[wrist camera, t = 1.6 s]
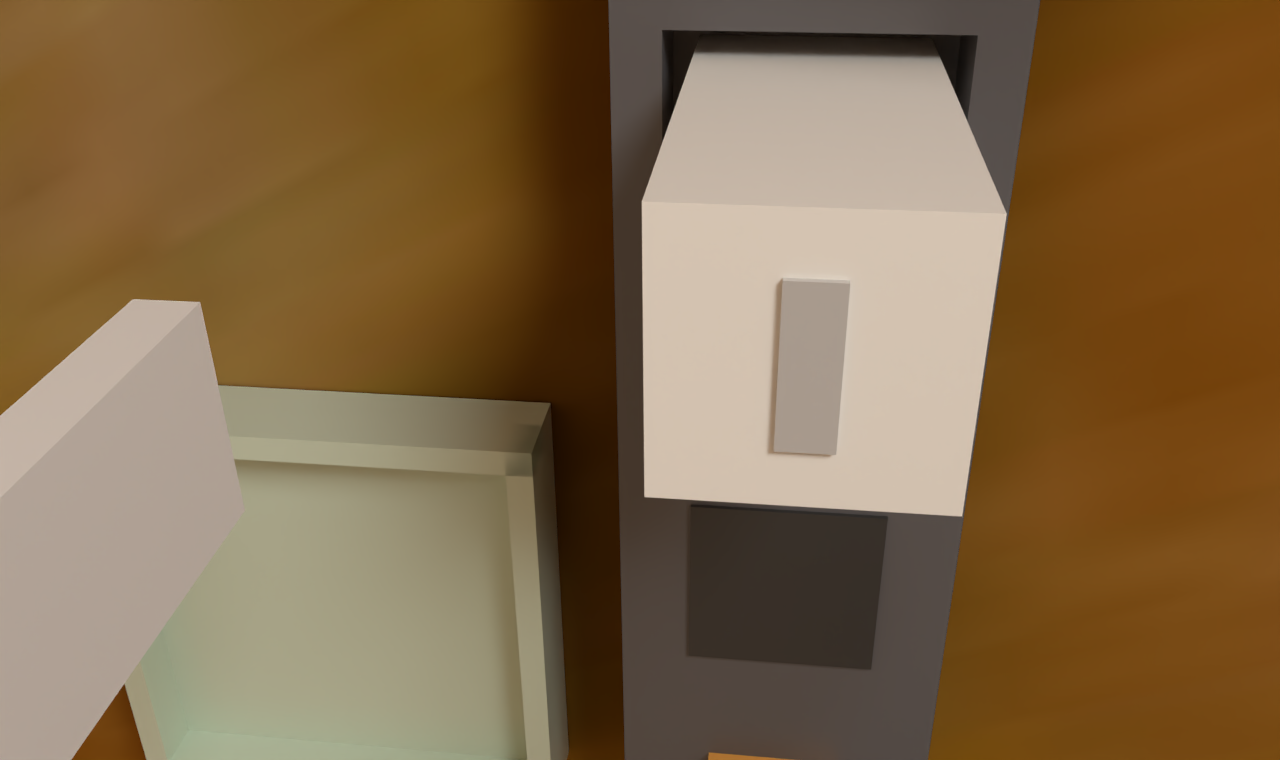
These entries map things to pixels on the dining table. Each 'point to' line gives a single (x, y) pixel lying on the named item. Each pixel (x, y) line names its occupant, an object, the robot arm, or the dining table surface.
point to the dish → (371, 589)
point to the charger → (816, 279)
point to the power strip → (774, 534)
